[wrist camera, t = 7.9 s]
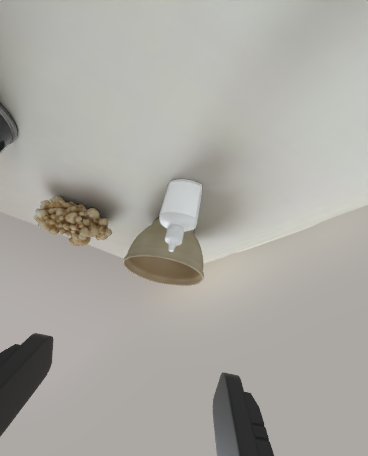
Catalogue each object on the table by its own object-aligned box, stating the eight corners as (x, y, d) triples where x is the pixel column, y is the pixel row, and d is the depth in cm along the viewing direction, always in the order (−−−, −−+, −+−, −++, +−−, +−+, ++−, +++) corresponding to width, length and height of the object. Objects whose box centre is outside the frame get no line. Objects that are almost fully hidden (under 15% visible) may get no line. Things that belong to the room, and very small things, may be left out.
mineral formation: (40, 190, 39) (100, 194, 35) (83, 219, 51) (131, 224, 47) (20, 224, 36) (82, 233, 32) (71, 247, 48) (121, 255, 44)
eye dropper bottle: (176, 169, 28) (157, 236, 22) (207, 186, 30) (197, 252, 24) (165, 186, 32) (146, 248, 26) (193, 200, 34) (182, 261, 27)
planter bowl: (139, 236, 49) (126, 276, 43) (138, 197, 36) (118, 247, 30) (198, 250, 50) (192, 291, 44) (219, 217, 37) (214, 270, 31)
